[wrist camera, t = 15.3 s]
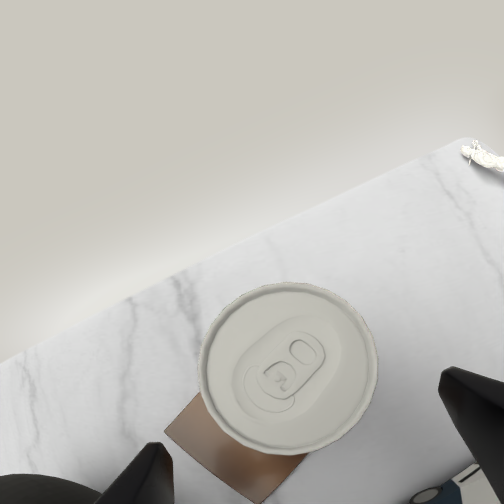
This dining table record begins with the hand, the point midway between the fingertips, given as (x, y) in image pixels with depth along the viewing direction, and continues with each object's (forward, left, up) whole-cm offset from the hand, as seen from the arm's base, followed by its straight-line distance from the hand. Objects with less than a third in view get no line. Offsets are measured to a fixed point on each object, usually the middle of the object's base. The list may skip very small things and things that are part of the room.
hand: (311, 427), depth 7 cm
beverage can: (+1, +2, -10) cm, 11 cm away
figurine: (+33, -13, -7) cm, 36 cm away
